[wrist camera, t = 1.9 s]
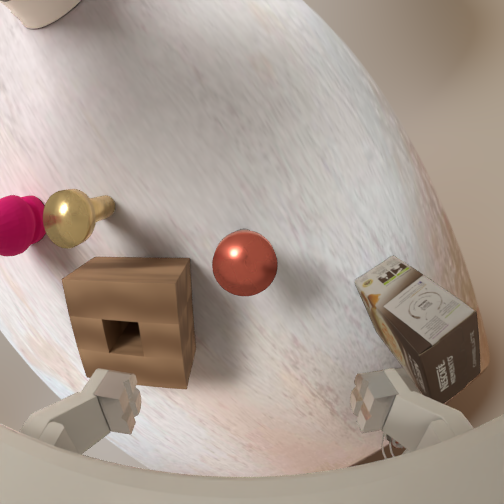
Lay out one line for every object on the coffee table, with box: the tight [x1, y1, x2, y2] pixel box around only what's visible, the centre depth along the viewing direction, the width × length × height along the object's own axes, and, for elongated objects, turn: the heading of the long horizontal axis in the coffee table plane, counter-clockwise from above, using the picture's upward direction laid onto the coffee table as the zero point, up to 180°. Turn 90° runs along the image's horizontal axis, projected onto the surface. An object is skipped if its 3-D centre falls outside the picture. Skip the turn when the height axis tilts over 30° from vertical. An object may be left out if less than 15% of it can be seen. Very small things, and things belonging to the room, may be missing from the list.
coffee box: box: [355, 256, 480, 404], centre depth 28 cm, size 9×6×16 cm
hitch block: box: [62, 257, 196, 389], centre depth 30 cm, size 12×12×8 cm
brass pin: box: [43, 189, 115, 248], centre depth 27 cm, size 5×5×9 cm
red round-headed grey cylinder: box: [212, 229, 277, 296], centre depth 28 cm, size 5×5×9 cm
